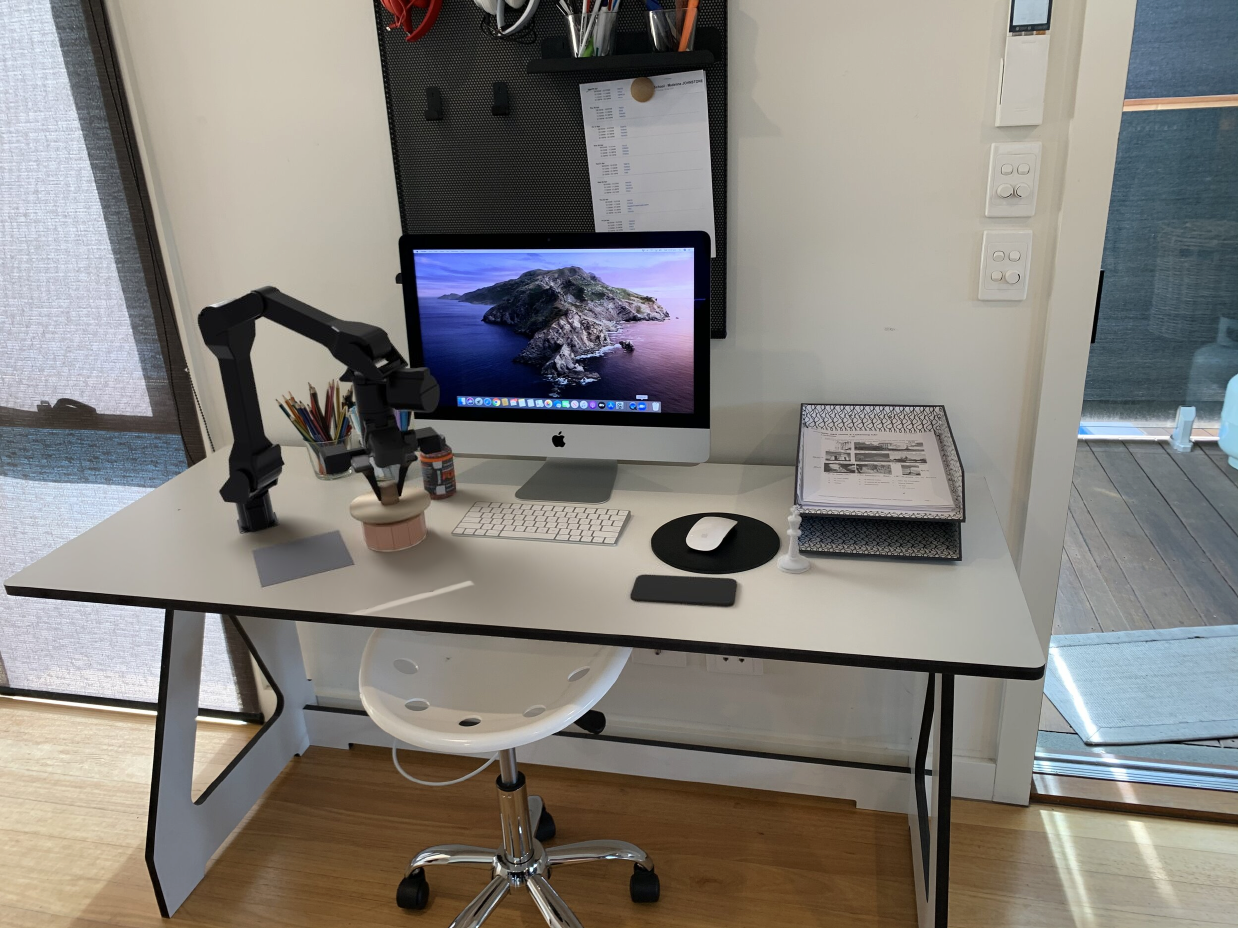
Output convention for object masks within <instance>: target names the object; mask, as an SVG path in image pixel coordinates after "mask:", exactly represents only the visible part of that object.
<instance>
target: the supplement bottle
mask: <svg viewBox="0 0 1238 928" xmlns="http://www.w3.org/2000/svg"><path fill="white" fill-rule="evenodd" d="M438 434H439V435H440V436H441V438H442V441H443V449H444V450H443V451H442V452H438V453H433V454H428V455H425V454H424V453H422V452H421V451H420V450H419V460H420V467H421V468H420V469H421V474H422V475H421V476H422V483H423V489H424V490H426V491H427V492H428V493H429V494H430V499H434V500H440V499H441V500H442V499H446V498H449V497H451V496H454V494H456V492H457V482H456V474H455V464H454V457H453V456H454V455H453V449H452V447H451V446H449V445H448V443H446V442H447V441H446V435H444V434H442V433H438Z"/></svg>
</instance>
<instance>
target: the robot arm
mask: <svg viewBox="0 0 1238 928" xmlns="http://www.w3.org/2000/svg"><path fill="white" fill-rule="evenodd" d="M262 318H264V319H267V320H269V321H270V322H274V323H275V324H277V325H280V326H282V327H284V328H286V329H288V330H290V331H292V332H295V334H296V333H297V334H298V335H301V336H303V337H305V338H307V339H309V340H311V341H313V342H316V343H317V344H320V345H321V346H323V347H324V348H326V349H327V350H328V352H329V353H330V354H331V356H332V357H333V358H334V360H336V361H338V362H339V363H341V364H342V365H344V366H345V367H346V370H345V371H344V373H342V374H341V376H339V377H338V381H339V382H340V383H351V384H352V389H353V394H354V401H355V406H356V413H357V420H358V426H359V430H360V431H359V432H360V438H361V443H362V446H360V447H359V446H358V447H354V448H350V449H348V448H347V447H346V445H345V444H344V443H339V444H334V445H329V446H323V447H321V448H320V449H319V452H318V453H319V454H318V455H319V461H320V465H321V466H322V468H323V471H324V472H325V473H326V475H334V474H339V473H344V472H348V471H349V470H350V468H351V469H352V470H353V472H354V473H355V474H362V475H363V476H364V477H365V479H366V480H367V481H368V484H369V486H370V488H371V490H373V491H374V493H375V495H376V497H377V499H378V500H379V501H381V494H380V490H379V486H378V485H379V484H378V480H377V477H376V473H375V467H374V466H373V464H372V463H371V460H370V459H371V458H372V459H373V461H374V464H375V466H376V468H378V469H386V468H388V467H392V466H393V469H394V470H393V471H394V482H396V483H397V487H398V494H399V497H401V495H402V491H403V486H405V481H406V477H407V474H408V471H409V467H411V465H412V463H414V462H418V460H419V456H418V455H417V454H416V452H417V451H419V452H420V451H421V452H422V453H424V454H425V455H428V454H433V453H438V452H442V451H443V450H444V449H443V441H442V438H441V436H440V435H439V434H440V433H439V432H438V431H436V430H435V428H433V427H431V426H426V427H421V428H416V429H414V428H411V429H406V430H405V429H402V430H401V429H400V426H398V422H397V421H398V420H397V417H396V412H395V411H403V412H415V413H416V412H417V413H433V412H434V411H435V410H436V409H437V408H438V404H439V401H440V395H441V391H440V385H439V384H438V381H437V379H436V378H435V377H434V375H431V371H430V368H429V367H423V366H422V367H417V368H416V367H412V368H411V367H408V366H409V363H408V362H407V360H406V359H405V357H404V356H403V355H402V354H401V352H400V351H399V350H398V349H397V348H396V346H395V345H394V344H393V343H392V341H391V339H390V337H389V334H388V332H387V331H385V329H383V328H381V327H379V326H376V325H372V324H369V323H366V322H362V321H354V320H353V321H352V320H343V319H341V318H338V317H336V316H333V315H331V314H329V313H327V312H325V311H322V310H321V309H318V308H316V307H314V306H312V305H310V304H308V303H307V302H303V301H301V300H299V299H296V298H295V297H294V296H291V295H288V294H286V293H284V292H282V291H281V290H280V289H279V288H277V287H276V286H272V285H265V286H264V285H263V286H261V287H258V288H254V289H251V290H250V291H248V292H247V293H246V294H244V295H242V296H240V297H236V298H235V297H234V298H230V299H226V300H223V301H220V302H216V303H214V304H211V305H207V306H204V307H203V308H202V309H201V310H200V312H199V313H198V314H197V324H198V325H197V326H198V328H199V331H200V334H201V335H200V336H201V337H202V340H203V343H204V345H205V346H206V348H207V349H209V351H210V352H211V353H212V354H213V355H214V357H216V359H217V362H218V368H219V372H220V376H221V377H220V378H221V382H222V387H223V391H224V396H225V397H224V398H225V401H226V408H227V412H228V418H229V422H230V427H231V432H232V437H233V438H232V439H233V444H232V446H231V449H230V450H231V451H230V454H229V456H228V476H229V477H228V478H227V480H226V481H225V482H224V483H223V485H222V487H220V489H219V490H218V493H219V494H220V497H221V498H222V500H223V501H224V503H230V504H231V503H233V504H235V508H236V511H237V515H238V519H237V520H236V522H237V523H236V524H237V528H238V531H239V534H242V535H243V534H247V533H251V532H258V531H261V530H265V529H269V528H274V527H278V526H279V525H280V523H279V519H278V517H277V514H276V512H275V511H274V508H273V505H272V504H273V503H272V500H271V494H270V491H269V490H270V489H272V488H273V487H276V486H277V485H278V483H279V477H280V475H281V474H282V473H283V466H285V465H286V463H285V461H284V459H283V456H282V447H281V445H280V443H273V442H272V441H271V440H270V439H269V438H268V437H267V436H266V433H265V428H264V423H263V418H262V416H263V415H262V412H261V411H262V410H261V406H260V401H259V396H258V395H259V394H258V390H257V384H256V380H255V374H254V368H253V365H252V358H251V352H252V349H253V346H254V342H255V338H256V336H257V333H256V332H257V331H256V330H257V329H256V328H257V327H256V321H257V320H259V319H262ZM384 361H385V362H386V363H384V364H382V365H380V366H378V365H379V364H380V363H382V362H384Z"/></svg>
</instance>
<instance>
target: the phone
mask: <svg viewBox="0 0 1238 928" xmlns="http://www.w3.org/2000/svg"><path fill="white" fill-rule="evenodd" d="M737 588H738V582H737V579H734V578H732V577H731V578H730V577H712V576H711V577H709V576H689V575H688V576H686V575H685V576H684V575H669V574H668V575H667V574H666V575H665V574H640V575H638V576H637V577H636V578H635V580H634V583H633V586H632V589H631V592H630V597H629V598H630V600H632V601H634V602H639V603H656V604H671V605H672V604H673V605H688V606H689V605H691V606H703V607H704V606H707V607H721V608H723V607H724V608H728V607H732V606H734V605H735V602H736V597H737V596H736V595H737Z"/></svg>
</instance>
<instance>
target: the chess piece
mask: <svg viewBox="0 0 1238 928" xmlns="http://www.w3.org/2000/svg"><path fill="white" fill-rule="evenodd" d="M789 511H790V512H791V513H792V515H789V516H788V517H787V521H788V523H789V527H790V528H789V529H787V531H786V534H787V535H788V536H790V539H789V540H790V541H789V547H788V552H787V553H786V554H783V555H781V556H779V558H778V559H777V563H776V567H777V568H778V570H780V571H782V572H784V573H786V574H787V573H788V574H801V573H804V572H807V571H808V570H809V569H811V568H810V567H811V564H810V560H809V559H808V558H807V557H806V556H804V555H801V554H800V551H799V550H800V549H799V539H798V537H800V536H801V535H802V530H800V529H799V527H800V524H801V522H802V517H801V516H800V514H801V512H800V510H798V506H797V504H796V505H795V504H794V505H793V506H792V507H790V509H789Z"/></svg>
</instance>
